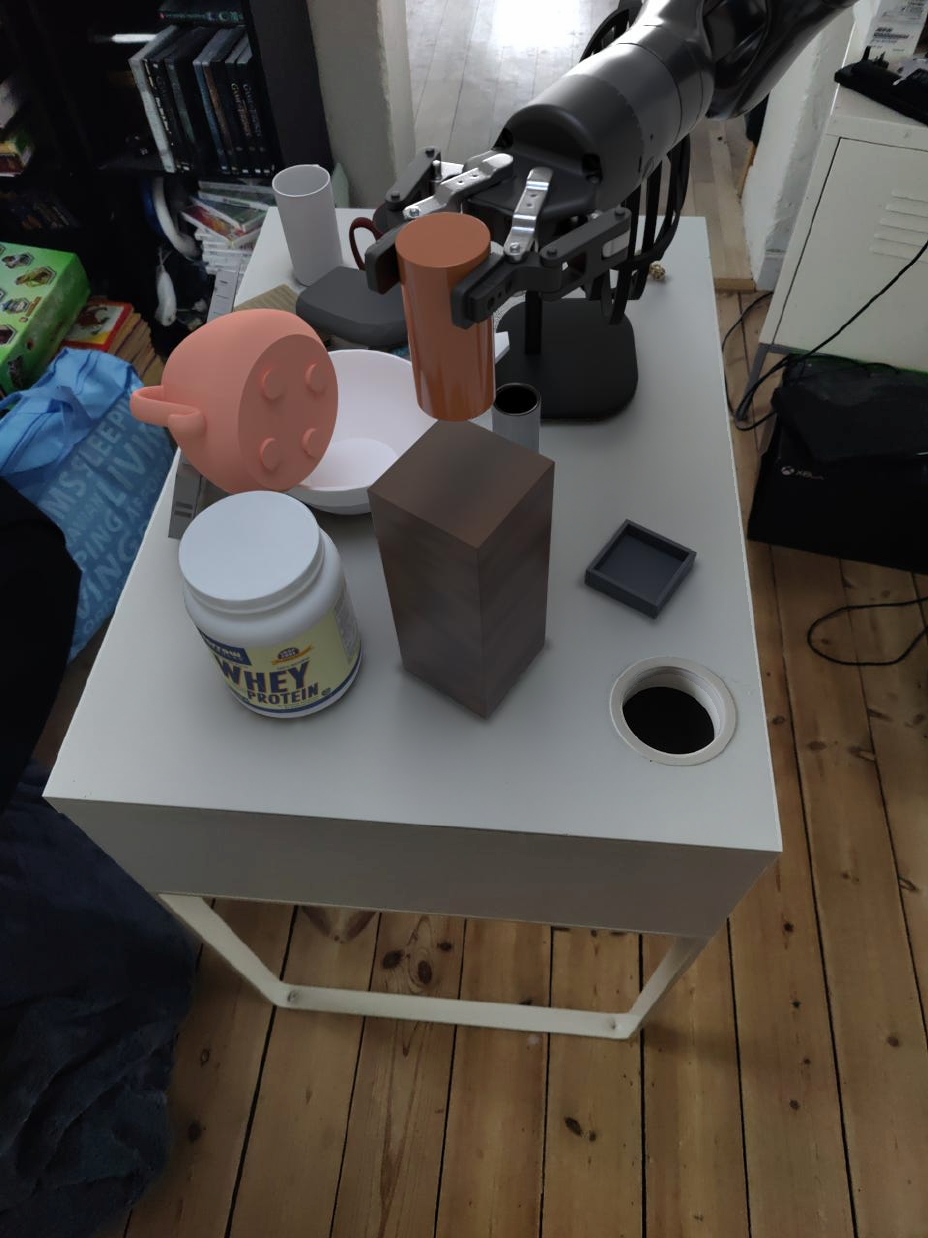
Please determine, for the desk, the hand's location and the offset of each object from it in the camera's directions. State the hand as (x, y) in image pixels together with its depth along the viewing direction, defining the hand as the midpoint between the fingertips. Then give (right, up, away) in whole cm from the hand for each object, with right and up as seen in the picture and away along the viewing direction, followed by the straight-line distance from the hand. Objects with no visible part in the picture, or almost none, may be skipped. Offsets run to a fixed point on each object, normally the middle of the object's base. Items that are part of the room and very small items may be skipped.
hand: (414, 293), depth 43 cm
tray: (+19, -12, +37) cm, 43 cm away
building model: (-22, +4, +41) cm, 47 cm away
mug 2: (-4, +22, +62) cm, 66 cm away
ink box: (-15, +20, +58) cm, 63 cm away
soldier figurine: (+23, +27, +59) cm, 69 cm away
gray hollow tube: (+8, -2, +45) cm, 46 cm away
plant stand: (+3, -20, +33) cm, 38 cm away
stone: (-7, +15, +54) cm, 57 cm away
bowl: (-9, -2, +46) cm, 46 cm away
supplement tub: (-12, -20, +33) cm, 41 cm away
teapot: (-11, +1, +28) cm, 30 cm away
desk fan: (+15, +12, +54) cm, 57 cm away
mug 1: (-15, +29, +67) cm, 74 cm away
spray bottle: (-15, +21, +55) cm, 61 cm away
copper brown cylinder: (+2, -3, +8) cm, 9 cm away
